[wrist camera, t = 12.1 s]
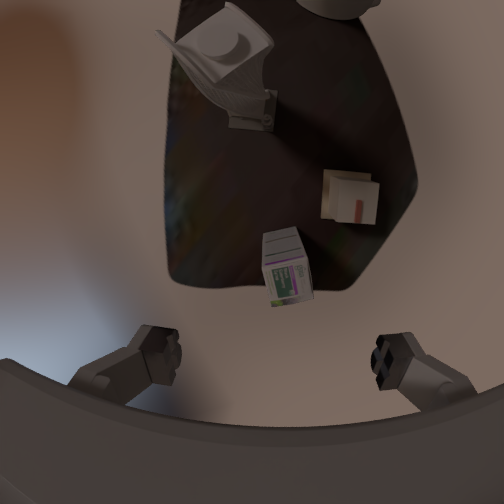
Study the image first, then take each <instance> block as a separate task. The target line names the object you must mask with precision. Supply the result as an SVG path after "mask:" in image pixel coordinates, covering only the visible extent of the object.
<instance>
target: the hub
mask: <svg viewBox="0 0 504 504" xmlns="http://www.w3.org/2000/svg"><path fill="white" fill-rule="evenodd" d="M330 176H341V177H351V178H360V179H367V180H370V181H371V174H369V173H360V172H350V171H340V170H328V169H324V174H323V192H322V207H321V218H323V219H333V218H332V216H331V215H330V214H329V213H328V202H329V189H330Z"/></svg>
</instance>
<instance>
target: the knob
mask: <svg viewBox="0 0 504 504" xmlns="http://www.w3.org/2000/svg"><path fill="white" fill-rule="evenodd" d="M378 193H379V183H376V182H373V181H370V180H367V179H360V178H351V177H341V176H330V189H329V202H328V213H329V214H330V215H331V216H332V218H333V219H334V220H335V221H336V222H346V223H361V224H375V219H376V212H377V203H378Z"/></svg>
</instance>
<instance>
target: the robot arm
mask: <svg viewBox="0 0 504 504" xmlns="http://www.w3.org/2000/svg"><path fill="white" fill-rule="evenodd" d="M296 1H297V2H298V3H299V4H300V5H301V6H303V7H304V8H306V9H307V10H309V11H311V12H313V13H315V14H317V15H320V16H323V17H326V18H330V19H337V20H349V19H354V18H357V17H359V16H361V15H363V14H364V13H365V12H366V11H367V10H368V9H369V8H371V7H375V6H378V5H379V4H380V2H381V0H296ZM178 339H179V333H178V330H176V329H171V328H164V327H158V326H149V325H141V327H140V328H139V330H138V331H137V333H136V334H135V335H134V337H133V338H132V340H131V341H130V343H129V345H128V346H127V347H122V348H120V349H118V350H116V351H114V352H112V353H110V354H108V355H106V356H104V357H102V358H100V359H98V360H95V361H93V362H91V363H89V364H87V365H85V366H83V367H80V368H79V369H78V371H77V372H76V374H75V375H74V376H73V378H72V379H71V380H70V382H69V383H68V385H67V386H66V385H64V384H61V383H59V382H57V381H54V380H52V379H50V378H48V377H45V376H43V375H41V374H39V373H37V372H35V371H33V370H31V369H29V368H26V367H24V366H23V365H21V364H19V363H17V362H16V361H14V360H12V359H8V358H5V359H1V360H0V504H504V383H503V384H501V385H499V386H497V387H494V388H492V389H489V390H487V391H484V392H482V393H479V394H478V393H477V391H476V390H475V388H474V387H473V385H472V383H471V382H470V380H469V379H468V377H467V376H465V375H463V374H462V373H460V372H458V371H456V370H455V369H453V368H451V367H450V366H448V365H446V364H444V363H442V362H441V361H439V360H437V359H436V358H434V357H432V356H430V355H426V354H425V353H424V351H423V349H422V348H421V346H420V344H419V343H418V341H417V340H416V338H415V337H414V335H413V334H412V333H411V332H405V333H399V334H386V335H379V336H378V338H377V340H376V345H377V348H375V349H374V350H373V352H372V355H371V368H372V371H373V372H374V373H375V374H376V375H377V377H376V382H377V384H378V387H379V390H380V391H382V390H390V389H397V390H398V391H399V392H400V393H402V394H403V395H404V396H405V397H406V398H407V399H409V401H410V402H412V403H413V404H414V405H415V406H416V407H417V408H418V409H420V411H421V412H417V413H413V414H408V415H403V416H398V417H393V418H387V419H381V420H375V421H368V422H361V423H352V424H343V425H330V426H314V427H259V426H242V425H230V424H220V423H212V422H204V421H197V420H190V419H184V418H179V417H173V416H168V415H163V414H158V413H154V412H149V411H145V410H141V409H137V408H133V407H129V406H126V405H125V404H126V403H127V402H129V401H130V400H132V399H133V398H134V397H136V396H137V395H138V394H140V393H141V392H142V391H143V390H145V389H146V388H147V387H149V386H150V385H151V384H152V383H155V384H161V385H168V386H172V383H173V381H174V378H175V376H176V373H175V369H177V368H178V367H179V366H180V363H181V357H182V350H181V345H180V344H179V343H178V342H177V341H178Z"/></svg>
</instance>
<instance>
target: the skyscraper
mask: <svg viewBox="0 0 504 504" xmlns="http://www.w3.org/2000/svg"><path fill="white" fill-rule="evenodd" d="M155 35H156V36H157V37H158V38H159V39H160V40H161V41H162V42H163V43H165V44H166V45H167V46H168V47H169V48H170V49H171V51H172V53H173V54H174V56H175V57H176V59H177V60H178V62H179V63H180V65H181V66H182V68H183V69H184V71H185V72H186V74H187V75H188V77H189V78H190V79H191V81H192V82H193V83H194V85H195V86H196V87H197V88H198V89H199V90H200V92H201V93H202V94H203V95H204V96H206V97H207V98H208V99H209V100H210V101H212V102H213V103H214V104H216V105H218V106H219V107H221V108H223V109H225V110H227V112H228V114H229V116H230V119H229V128H238V129H249V130H259V131H268V132H273V128H274V119H275V111H276V102H277V93H278V91H275V90H266V89H264V86H263V81H262V66H263V61H264V58H265V56H266V55H267V54H268V53H269V52H270V51H271V49H272V48H273V47H274V41H273V39H272V38H271V37H270V36H269V35H268V33H267V32H266V31H265V30H264V29H263V28H262V27H260V26H259V25H258V24H257V23H256V22H255V21H254V20H253V19H252V18H251V17H249V16H248V15H247V14H246V13H245V12H243V11H242V10H241V9H240V8H238V7H237V6H236V5H234V4H233V3H230V2H225V8H224V9H222V10H221V11H219V12H218V13H216V14H215V15H213V16H212V17H210V18H209V19H207V20H206V21H204V22H203V23H201V24H200V25H199V26H197V27H196V28H194V29H193V30H192V31H190V32H189V33H188V34H186V35H185V36H184V37H183V38H181V39H180V40H179V41H178V42H176V43H174V42H173V41H172V40H171V39H170V38H168V37H167V36H166V35H165V34H164V33H163V32H162V31H161V30H156V31H155Z"/></svg>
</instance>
